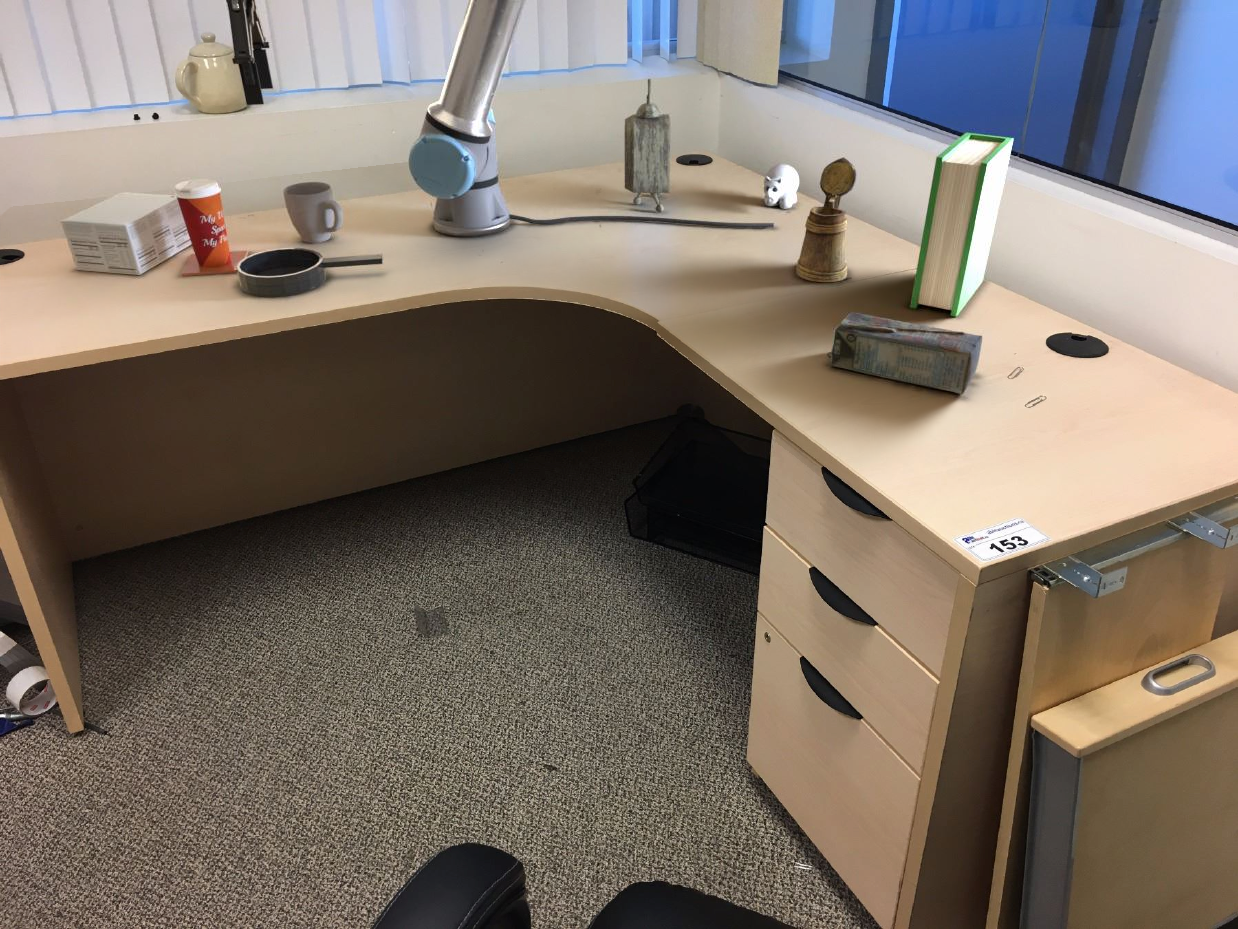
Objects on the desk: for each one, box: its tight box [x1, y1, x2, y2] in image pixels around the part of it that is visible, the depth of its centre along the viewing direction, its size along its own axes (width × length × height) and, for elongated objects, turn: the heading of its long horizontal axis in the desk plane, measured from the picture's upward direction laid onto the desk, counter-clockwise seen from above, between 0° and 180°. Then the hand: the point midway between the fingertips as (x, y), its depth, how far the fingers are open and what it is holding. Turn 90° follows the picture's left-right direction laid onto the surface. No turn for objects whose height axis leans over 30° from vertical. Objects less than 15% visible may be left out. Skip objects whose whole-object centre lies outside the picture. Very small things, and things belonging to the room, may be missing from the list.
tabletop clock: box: [624, 78, 671, 213], centre depth 193 cm, size 14×9×25 cm, turn 179°
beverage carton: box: [830, 311, 983, 395], centre depth 132 cm, size 8×19×7 cm, turn 61°
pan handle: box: [323, 253, 384, 269], centre depth 164 cm, size 10×2×1 cm, turn 101°
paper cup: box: [173, 178, 231, 267], centre depth 166 cm, size 8×8×14 cm
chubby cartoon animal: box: [763, 163, 800, 210], centre depth 195 cm, size 7×12×8 cm, turn 152°
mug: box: [282, 181, 344, 244], centre depth 179 cm, size 12×9×10 cm
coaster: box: [180, 250, 249, 277], centre depth 170 cm, size 10×10×1 cm
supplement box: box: [60, 191, 192, 276], centre depth 171 cm, size 17×13×9 cm
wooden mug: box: [795, 157, 857, 283], centre depth 163 cm, size 9×14×18 cm, turn 157°
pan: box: [236, 247, 327, 298], centre depth 162 cm, size 14×14×4 cm
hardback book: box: [909, 132, 1015, 318], centre depth 151 cm, size 18×7×24 cm, turn 149°
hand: (260, 96), depth 165 cm, fingers open, 13 cm apart
